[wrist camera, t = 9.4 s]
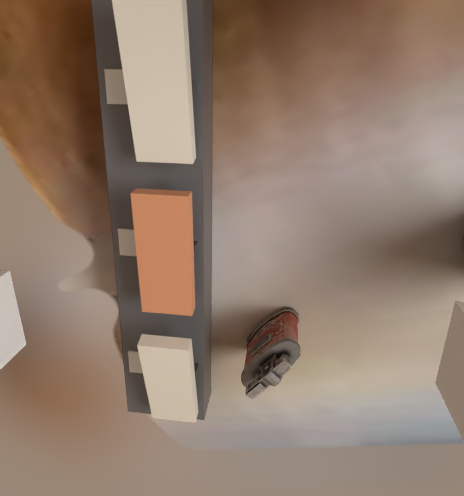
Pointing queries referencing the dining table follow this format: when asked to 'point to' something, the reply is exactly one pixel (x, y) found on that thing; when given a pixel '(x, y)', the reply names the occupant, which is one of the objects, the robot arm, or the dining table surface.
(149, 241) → the rocker middle
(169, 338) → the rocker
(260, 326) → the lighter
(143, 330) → the rocker switch base
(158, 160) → the block
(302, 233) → the dining table surface
